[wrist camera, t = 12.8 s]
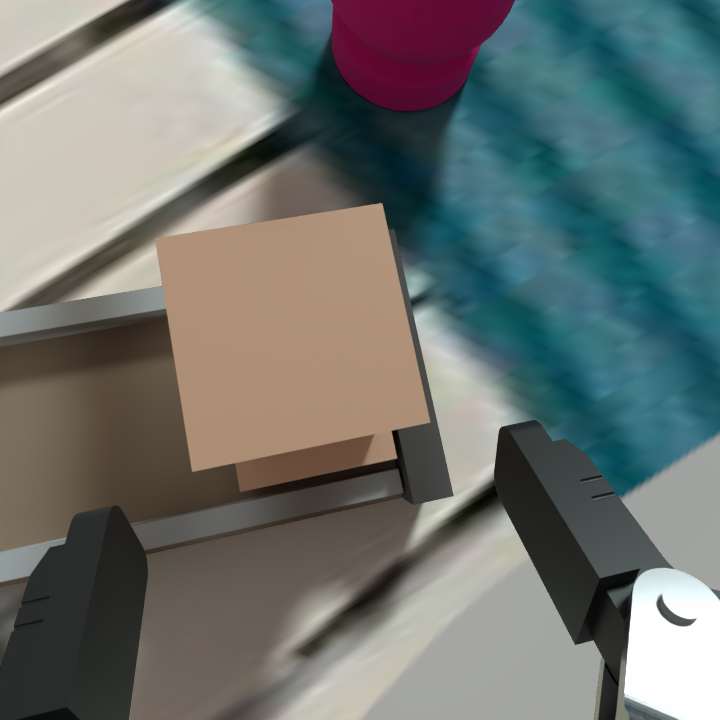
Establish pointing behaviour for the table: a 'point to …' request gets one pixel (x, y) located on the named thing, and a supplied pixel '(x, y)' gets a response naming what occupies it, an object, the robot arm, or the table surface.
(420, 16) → the pepper mill
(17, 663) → the robot arm
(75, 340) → the track
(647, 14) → the table surface
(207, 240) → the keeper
